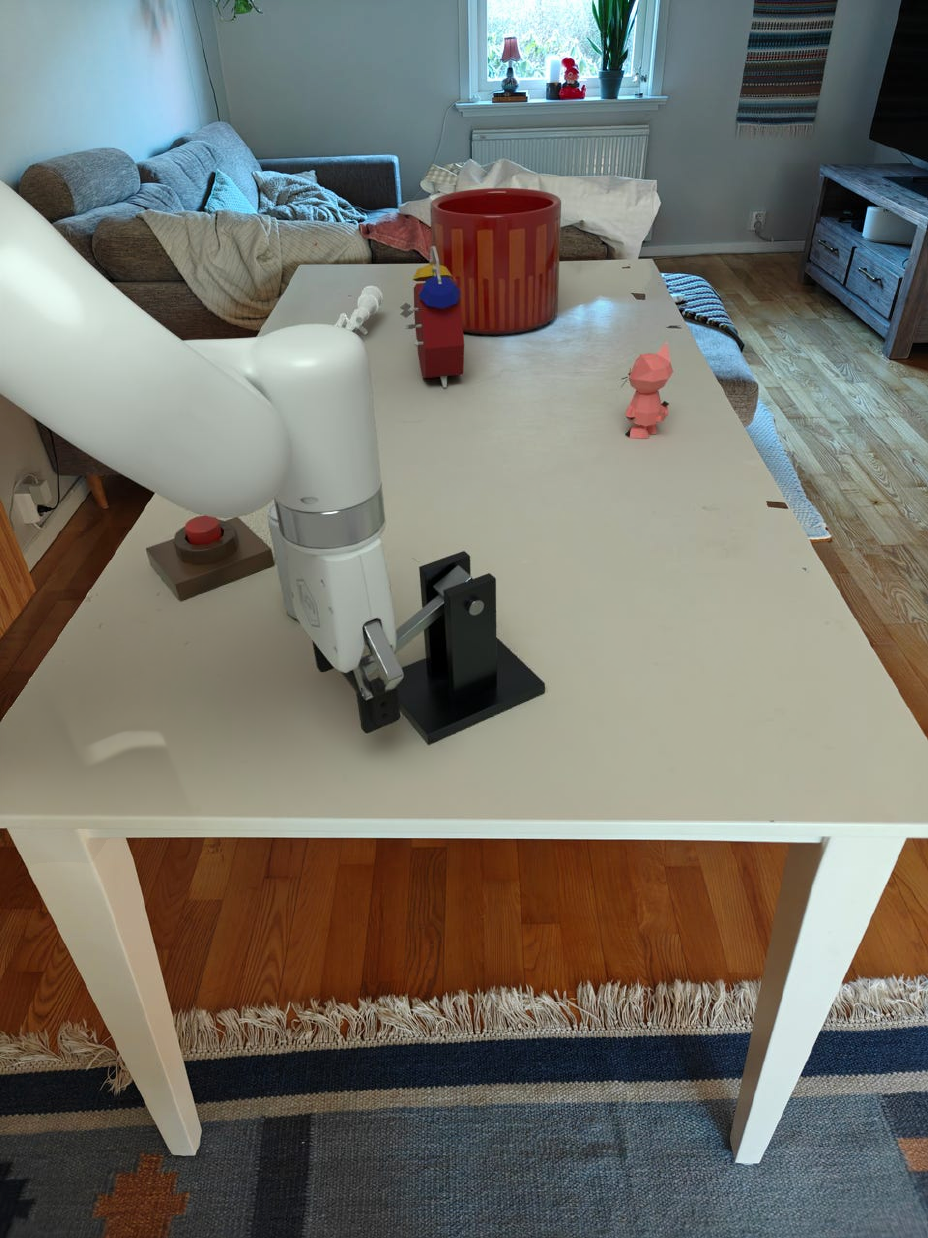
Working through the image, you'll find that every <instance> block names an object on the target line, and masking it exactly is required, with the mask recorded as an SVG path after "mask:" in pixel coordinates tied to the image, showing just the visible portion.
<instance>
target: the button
mask: <svg viewBox="0 0 928 1238" xmlns="http://www.w3.org/2000/svg"><path fill="white" fill-rule="evenodd" d="M218 519H219V518H217V517H209V516H205V515H199V516H195V517H192V518H190V519H189V520H188V521H186V523H185V524H184V526H185V530H186V533H187V537H188V541H189V543H191V544H194V545H205V544H209V543H212V542H215V541H217V540H218V539H220V538H221V537H222V532H221V528H220V523H219V520H220V519H219V520H218Z"/></svg>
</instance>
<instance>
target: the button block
mask: <svg viewBox="0 0 928 1238" xmlns="http://www.w3.org/2000/svg"><path fill="white" fill-rule="evenodd" d="M217 519H218V520H219V523H220V528H221V532H222V537H221V538H220V539H218V540H217V541H215V542H212V543H209V544H205V545H194V544H191V543H189V541H188V537H187V533H186V530H185V525H184V526H183V527H182V528H180V529H179V530H178V531H176V532H175V533H174V538H171V539H168V540H166V541H163V542H160V543H157V544H154V545H151V546H148V547H146V548H145V552H146V555H147V558H148V561H149V564H150V566H151V567H152V569H153V570H154V571H155V572H156V574H157V575H158V576H159V578H161V580H162V581H163V582H164V584H165V585H166V586H167V587H168V588H169V590H170V591H171V592H172V593H173V595H174V596H175V597H176V598H177V600H178V601H179V602H183V601H185V600H187V599H190V598H193V597H195V596H197V595H198V596H199V595H200V594H203V593H206V592H208V591H212V590H214V589H216V588H219V587H221V586H223V585H227V584H229V583H232V582H235V581H237V580H240V579H242V578H245V577H248V576H250V575H253V574H255V573H258V572H261V571H264V570H265V569H269V568H272V567H274V566H275V562H274V556H273V552H272V550H273V549H272V548H271V547H270V546H269V545H268V544H267V542H265V541H264V540H263V539H261V537H259V535H258V534H256V533H255V531H253V530H252V529H251V527H249V526H248V525H247V524H246V523H245V522H244V521H243V520H242V519H241V518H240V517H234V518H228V519H227V520H222V519H220V518H217Z"/></svg>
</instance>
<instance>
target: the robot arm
mask: <svg viewBox="0 0 928 1238" xmlns="http://www.w3.org/2000/svg"><path fill="white" fill-rule="evenodd" d="M370 363H371V362H370V357H369V353H368V349H367V346H366V345H365V342H364V341H363V339H362V338H361V337H360V336H359V334H357V333H355V331H354V332H353V331H350V330H349V329H346V328H345V327H344V326H342V327H340V326H335V324H329V323H328V324H327V323H303V324H296V325H289V326H285V327H282V328H279V329H276V330H273V331H270V332H268V333H266V334H265V335H262V336H253V337H240V338H239V337H237V338H214V339H211V338H210V339H187V340H182V339H181V338H180V337H179V336H177V335H176V334H174V333H173V332H172V331H170V330H169V329H168V328H166V327H165V326H164V325H163V324H161V323H160V322H159V321H158V320H156V319H155V318H154V317H152V316H151V314H149V313H147V312H146V311H145V310H144V309H142V308H141V307H140V306H139V305H138V304H137V303H135V302H134V301H133V300H131V299H130V298H129V297H128V296H126V294H124V293H123V292H122V291H121V290H120V289H119V288H118V287H117V286H115V285H114V284H113V283H112V282H110V281H109V280H108V279H107V278H106V277H105V276H104V275H102V274H101V273H100V271H98V270H97V269H96V268H95V267H94V266H93V265H92V264H90V262H88V260H86V259H85V257H83V256H82V255H81V254H80V253H79V252H78V251H77V250H76V248H75V247H73V245H71V243H70V242H69V241H68V240H67V239H66V238H65V237H64V236H63V235H62V234H61V232H59V230H58V229H57V228H55V226H54V225H52V224H51V223H50V221H49V220H47V218H46V217H44V215H42V214H41V213H40V212H39V211H38V210H37V209H35V208H34V207H33V206H32V205H31V204H30V203H29V202H28V201H26V200H25V199H24V198H23V197H21V195H20V194H18V193H17V192H16V191H15V190H14V189H13V188H12V187H10V186H9V185H8V184H6V183H5V182H4V181H3V180H1V179H0V395H1V396H3V397H4V398H6V399H7V400H9V401H10V402H11V403H13V404H14V405H15V406H17V407H18V408H20V409H21V410H22V411H24V412H25V413H27V414H28V415H29V416H31V417H32V418H34V419H35V420H36V421H38V422H39V423H41V424H42V425H43V426H45V427H47V428H48V429H49V430H51V431H52V432H54V433H55V434H57V435H58V436H60V437H61V438H62V439H64V440H66V442H68V443H70V444H71V445H72V446H75V447H76V448H77V449H79V450H81V451H82V452H84V453H85V454H86V455H89V456H90V457H92V458H93V459H95V460H97V461H98V462H100V463H102V464H103V465H105V466H106V467H108V468H110V469H112V470H114V471H115V472H117V473H119V474H120V475H122V476H124V477H126V478H128V479H130V480H132V481H133V482H135V483H137V484H138V485H140V486H141V487H144V488H145V489H147V490H149V491H151V492H153V493H154V494H156V495H158V496H160V497H162V498H163V499H165V500H167V501H169V502H170V503H173V504H174V505H176V506H177V507H180V508H182V509H185V510H187V511H189V512H192V513H194V514H198V515H200V516H209V517H216V518H217V519H232V518H235V517H238V518H241V517H243V516H244V517H245V516H248V515H251V514H253V513H255V512H258V511H260V510H261V509H263V508H264V507H266V506H267V505H269V504H270V503H271V502H273V503H274V502H275V508H276V513H277V518H278V524H279V529H280V534H281V538H282V540H283V541H284V543H285V549H286V558H287V566H288V574H289V581H290V588H291V595H292V602H293V608H294V612H295V614H296V616H297V618H298V620H297V621H298V622H299V623H300V625H301V626H302V628H303V630H305V632H306V633H307V635H308V636H309V638H310V639H311V642H312V647H313V653H314V660H315V665H316V668H317V670H318V671H319V673H326V672H329V671H331V670H334V669H335V670H337V671H339V672H340V671H341V672H343V673H347V672H349V671H351V670H353V671H354V674H355V677H356V680H357V683H358V685H359V688H360V692H358V693H356V692H355V693H356V694H355V696H356V702H357V709H358V716H359V723H360V729H361V730H362V731H363V733H364V734H366V735H367V734H370V733H373V732H375V731H378V730H380V729H382V728H384V727H386V726H389V725H391V724H393V723H396V722H398V721H399V720H400V719H401V710H400V709H399V700H398V691H397V688H398V687H399V686H400V682H401V680H402V679H403V677H404V674H403V671H402V666H401V664H400V662H399V660H398V658H397V656H396V654H394V652H395V649H396V644H397V636H396V630H397V623H396V615H395V608H394V600H393V595H392V589H391V581H390V577H389V571H388V567H387V566H388V565H387V561H386V557H385V553H384V549H383V543H382V539H381V535H383V533H384V531H385V528H386V525H387V520H386V512H385V511H386V510H385V502H384V501H385V500H384V492H383V491H384V490H383V483H382V474H381V464H380V463H381V462H380V454H379V453H380V452H379V443H378V432H377V425H376V422H377V421H376V413H375V403H374V394H373V393H374V392H373V383H372V373H371V372H372V371H371V364H370ZM366 646H367V648H368V650H369V652H371V653H369V652H368V653H366V654H363V653H364V651H365V647H366ZM374 661H375V663H376V665H377V667H378V669H377V670H378V674H377V676H378V677H375V678H373V679H371V680H370V682H369V681H368V679H369V678H368V677H367V675H366V673H365V670H364V667H363V666H364V665H367V664H369V663H372V662H374ZM341 672H340V673H341Z"/></svg>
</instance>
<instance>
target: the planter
mask: <svg viewBox="0 0 928 1238" xmlns="http://www.w3.org/2000/svg"><path fill="white" fill-rule="evenodd" d="M429 214H430V234H431V235H430V238H431V239H430V241H431V247H433V246H435V247H436V251H437V255H438V259H439V265H442V266H445V267H446V268H447V269H448V271H449V272H450V274H451V275H452V276H453V277H451V278H450V279H451V280H452V281H455V282H456V286H457V288H458V289H459V290H460V292H461V294H460V296H459V299H460V304H461V312H462V324H463V333H467V334H471V335H478V336H479V335H481V336H506V335H514V334H522V333H527V332H529V331H534V330H536V329H539V328H541V327H542V326H545V325H547V324H549V323H550V322H551V321H552V320H553V319H554V318H555V317H556V316H557V314H558V309H559V288H560V287H559V285H560V260H561V259H560V257H561V256H560V255H561V227H562V226H561V225H562V224H561V222H562V200H561V198H560V197H559V196H557V195H556V194H553V193H551V192H548V191H543V190H538V189H531V188H521V187H520V188H517V187H488V188H475V189H467V190H459V191H455V192H450V193H446V194H443V195H440V196H437V197H436V198H434V199H432V201H431V202H430V203H429ZM433 264H435V265H436V258H435V254H434V251H433Z"/></svg>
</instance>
